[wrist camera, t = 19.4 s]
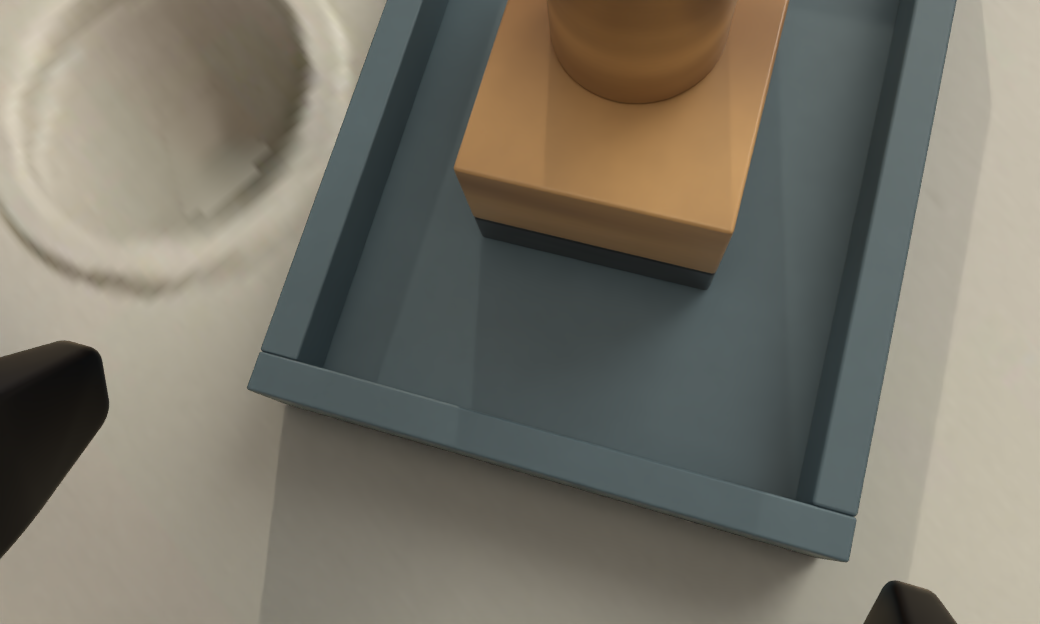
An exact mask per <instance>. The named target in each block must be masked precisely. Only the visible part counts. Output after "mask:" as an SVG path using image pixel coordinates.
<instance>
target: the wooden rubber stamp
mask: <svg viewBox="0 0 1040 624" xmlns="http://www.w3.org/2000/svg"><path fill="white" fill-rule="evenodd" d="M788 4H789V0H508V1H507V4H506V7H505V10H504V13H503V16H502V20H501V23H500V26H499V29H498V32H497V35H496V38H495V41H494V44H493V47H492V50H491V54H490V57H489V60H488V63H487V66H486V69H485V72H484V75H483V78H482V81H481V84H480V87H479V91H478V94H477V97H476V100H475V103H474V106H473V109H472V112H471V115H470V118H469V121H468V125H467V128H466V131H465V134H464V137H463V140H462V143H461V146H460V149H459V152H458V155H457V158H456V162H455V165H454V171H455V174H456V176H457V179H458V181H459V183H460V186H461V188H462V190H463V193H464V195H465V197H466V200H467V202H468V204H469V207H470V209H471V212H472V214H473V216H474V218H475V220H476V223H477V225H478V228H479V230H480V232H481V235H482V236H484V237H487V238H491V239H495V240H500V241H504V242H508V243H512V244H516V245H520V246H524V247H529V248H533V249H537V250H541V251H545V252H549V253H553V254H557V255H562V256H566V257H570V258H574V259H578V260H582V261H586V262H590V263H595V264H599V265H603V266H607V267H611V268H615V269H619V270H623V271H628V272H632V273H636V274H640V275H644V276H648V277H652V278H657V279H661V280H665V281H669V282H673V283H677V284H681V285H685V286H690V287H694V288H698V289H702V290H707V289H708V288H709V286H710V284H711V282H712V280H713V277H714V275H715V273H716V271H717V269H718V266H719V264H720V262H721V260H722V257H723V255H724V253H725V251H726V248H727V246H728V244H729V242H730V239H731V237H732V235H733V232H734V229H735V225H736V221H737V217H738V212H739V208H740V204H741V200H742V196H743V192H744V187H745V183H746V179H747V175H748V171H749V167H750V163H751V158H752V154H753V150H754V146H755V142H756V138H757V133H758V129H759V125H760V121H761V117H762V113H763V108H764V104H765V100H766V96H767V92H768V88H769V83H770V79H771V75H772V71H773V67H774V63H775V58H776V54H777V50H778V46H779V42H780V38H781V33H782V29H783V25H784V21H785V17H786V13H787V9H788Z"/></svg>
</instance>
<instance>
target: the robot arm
mask: <svg viewBox="0 0 1040 624" xmlns="http://www.w3.org/2000/svg"><path fill="white" fill-rule="evenodd" d="M108 410H109V398H108V392H107V386H106V380H105V374H104V368H103V362H102V358H101V356H100V354H99V353H98V351H97V350H95V349H94V348H92V347H88V346H85V345H81V344H78V343H74V342H71V341H57V342H53V343H50V344H46V345H42V346H39V347H35V348H32V349H28V350H25V351H21V352H17V353H14V354H10V355H7V356H3V357H0V559H1V558H2V556H3V555H4V554H5V553H6V552H7V551H8V550H9V549H10V547H11V546H12V545H13V544H14V543H15V542H16V540H17V539H18V538H19V537H20V536H21V535H22V533H23V532H24V531H25V530H26V529H27V527H28V526H29V525H30V523H31V522H32V521H33V519H34V518H35V517H36V516H37V514H38V513H39V512H40V510H41V509H42V508H43V506H44V505H45V504H46V502H47V501H48V499H49V498H50V497H51V495H52V494H53V493H54V491H55V490H56V488H57V487H58V486H59V484H60V483H61V482H62V480H63V479H64V477H65V476H66V475H67V473H68V472H69V470H70V469H71V468H72V466H73V465H74V464H75V462H76V461H77V459H78V458H79V457H80V455H81V454H82V453H83V451H84V450H85V448H86V447H87V446H88V444H89V443H90V442H91V440H92V439H93V437H94V436H95V435H96V433H97V432H98V430H99V429H100V428H101V426H102V425H103V423H104V421H105V419H106V417H107V414H108ZM864 624H957V623H956V621H955V620H954V619H953V617H952V616H951V615H950V613H949V612H948V610H947V609H946V608H945V606H944V605H943V604H942V602H941V601H940V600H939V598H938V597H937V596H936V595H935V594H934V593H933V592H931V591H929V590H927V589H924V588H921V587H917V586H914V585H911V584H907V583H904V582H900V581H890V582H888V583H887V584H886V585H885V586H884V587H883V589H882V590H881V592H880V594H879V596H878V598H877V599H876V601H875V603H874V605H873V607H872V609H871V611H870V612H869V614H868V616H867V618H866V620H865V622H864Z"/></svg>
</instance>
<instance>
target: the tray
mask: <svg viewBox="0 0 1040 624" xmlns="http://www.w3.org/2000/svg"><path fill="white" fill-rule="evenodd" d="M507 1H508V0H387V2H386V5H385V7H384V10H383V13H382V16H381V18H380V21H379V24H378V27H377V29H376V32H375V35H374V38H373V41H372V43H371V46H370V49H369V52H368V54H367V57H366V60H365V63H364V65H363V68H362V71H361V74H360V76H359V79H358V82H357V85H356V88H355V90H354V93H353V96H352V99H351V101H350V104H349V107H348V110H347V112H346V115H345V118H344V121H343V123H342V126H341V129H340V132H339V134H338V137H337V140H336V143H335V146H334V148H333V151H332V154H331V157H330V159H329V162H328V165H327V168H326V170H325V173H324V176H323V179H322V181H321V184H320V187H319V190H318V192H317V195H316V198H315V201H314V204H313V206H312V209H311V212H310V215H309V217H308V220H307V223H306V226H305V228H304V231H303V234H302V237H301V239H300V242H299V245H298V248H297V251H296V253H295V256H294V259H293V262H292V264H291V267H290V270H289V273H288V275H287V278H286V281H285V284H284V286H283V289H282V292H281V295H280V297H279V300H278V303H277V306H276V309H275V311H274V314H273V317H272V320H271V322H270V325H269V328H268V331H267V333H266V336H265V339H264V342H263V344H262V347H261V350H262V351H263V352H260V353H259V356H258V358H257V361H256V364H255V367H254V370H253V372H252V375H251V378H250V381H249V383H248V386H247V389H248V390H250V391H253V392H255V393H258V394H261V395H263V396H266V397H269V398H271V399H274V400H277V401H279V402H282V403H285V404H288V405H291V406H295V407H298V408H302V409H305V410H309V411H312V412H315V413H319V414H322V415H326V416H329V417H333V418H336V419H340V420H343V421H347V422H350V423H353V424H357V425H360V426H364V427H367V428H371V429H374V430H378V431H381V432H385V433H388V434H391V435H395V436H398V437H402V438H405V439H409V440H412V441H416V442H419V443H423V444H426V445H429V446H433V447H436V448H440V449H443V450H447V451H450V452H454V453H457V454H460V455H464V456H467V457H471V458H474V459H478V460H481V461H485V462H488V463H492V464H495V465H498V466H502V467H505V468H509V469H512V470H516V471H519V472H523V473H526V474H530V475H533V476H536V477H540V478H543V479H547V480H550V481H554V482H557V483H561V484H564V485H568V486H571V487H574V488H578V489H581V490H585V491H588V492H592V493H595V494H599V495H602V496H606V497H609V498H612V499H616V500H619V501H623V502H626V503H630V504H633V505H637V506H640V507H643V508H647V509H650V510H654V511H657V512H661V513H664V514H668V515H671V516H675V517H678V518H681V519H685V520H688V521H692V522H695V523H699V524H702V525H706V526H709V527H713V528H716V529H719V530H723V531H726V532H730V533H733V534H737V535H740V536H744V537H747V538H751V539H754V540H757V541H761V542H764V543H768V544H771V545H775V546H778V547H782V548H785V549H789V550H792V551H795V552H799V553H802V554H806V555H809V556H813V557H816V558H821V559H827V560H834V561H840V562H848V561H849V557H850V551H851V546H852V541H853V536H854V531H855V525H856V518H855V517H853V516H856V515H857V513H858V508H859V503H860V498H861V493H862V487H863V482H864V477H865V472H866V467H867V462H868V456H869V451H870V446H871V441H872V436H873V430H874V425H875V420H876V415H877V410H878V405H879V399H880V394H881V389H882V384H883V379H884V373H885V368H886V363H887V358H888V353H889V348H890V342H891V337H892V332H893V327H894V322H895V316H896V311H897V306H898V301H899V296H900V291H901V285H902V280H903V275H904V270H905V265H906V259H907V254H908V249H909V244H910V239H911V234H912V228H913V223H914V218H915V213H916V208H917V203H918V197H919V192H920V187H921V182H922V177H923V171H924V166H925V161H926V156H927V151H928V146H929V140H930V135H931V130H932V125H933V120H934V114H935V109H936V104H937V99H938V94H939V89H940V83H941V78H942V73H943V68H944V63H945V57H946V52H947V47H948V42H949V37H950V32H951V26H952V21H953V16H954V11H955V6H956V0H789V4H788V9H787V13H786V17H785V21H784V25H783V29H782V33H781V38H780V42H779V46H778V50H777V54H776V58H775V63H774V67H773V71H772V75H771V79H770V83H769V88H768V92H767V96H766V100H765V104H764V108H763V113H762V117H761V121H760V125H759V129H758V133H757V138H756V142H755V146H754V150H753V154H752V158H751V163H750V167H749V171H748V175H747V179H746V183H745V187H744V192H743V196H742V200H741V204H740V208H739V212H738V217H737V221H736V225H735V229H734V232H733V235H732V237H731V239H730V242H729V244H728V246H727V248H726V251H725V253H724V255H723V257H722V260H721V262H720V264H719V266H718V269H717V271H716V273H715V275H714V277H713V280H712V282H711V284H710V286H709V288H708V289H707V290H702V289H698V288H694V287H690V286H685V285H681V284H677V283H673V282H669V281H665V280H661V279H657V278H652V277H648V276H644V275H640V274H636V273H632V272H628V271H623V270H619V269H615V268H611V267H607V266H603V265H599V264H595V263H590V262H586V261H582V260H578V259H574V258H570V257H566V256H562V255H557V254H553V253H549V252H545V251H541V250H537V249H533V248H529V247H524V246H520V245H516V244H512V243H508V242H504V241H500V240H495V239H491V238H487V237H484V236H482V235H481V232H480V230H479V228H478V225H477V223H476V220H475V218H474V216H473V214H472V212H471V209H470V207H469V204H468V202H467V200H466V197H465V195H464V193H463V190H462V188H461V186H460V183H459V181H458V179H457V176H456V174H455V171H454V165H455V162H456V158H457V155H458V152H459V149H460V146H461V143H462V140H463V137H464V134H465V131H466V128H467V125H468V121H469V118H470V115H471V112H472V109H473V106H474V103H475V100H476V97H477V94H478V91H479V87H480V84H481V81H482V78H483V75H484V72H485V69H486V66H487V63H488V60H489V57H490V54H491V50H492V47H493V44H494V41H495V38H496V35H497V32H498V29H499V26H500V23H501V20H502V16H503V13H504V10H505V7H506V4H507Z"/></svg>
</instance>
